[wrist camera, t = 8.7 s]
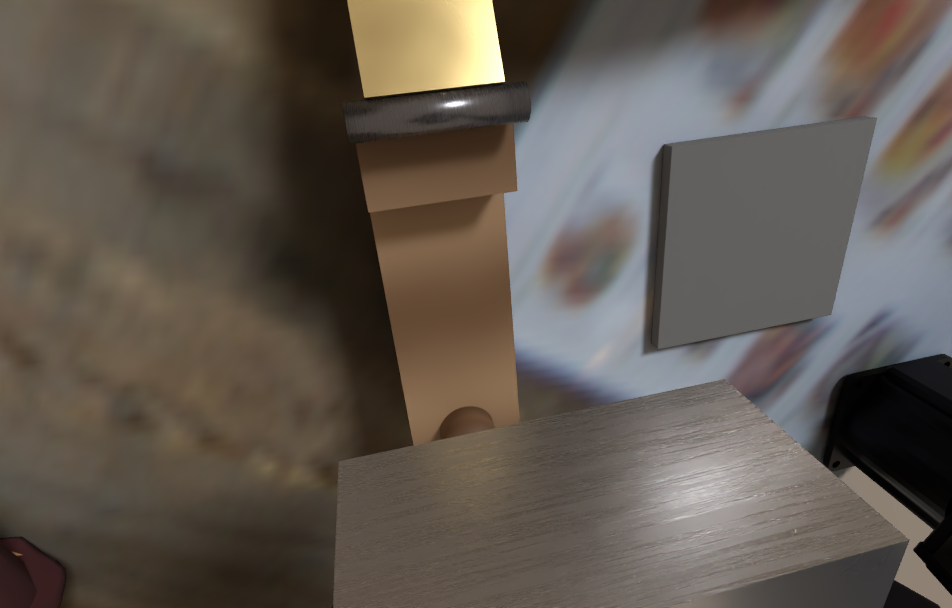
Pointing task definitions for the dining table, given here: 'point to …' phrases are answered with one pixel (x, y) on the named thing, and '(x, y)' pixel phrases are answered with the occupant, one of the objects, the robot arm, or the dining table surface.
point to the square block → (612, 516)
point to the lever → (429, 70)
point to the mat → (755, 228)
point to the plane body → (447, 274)
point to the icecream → (29, 576)
